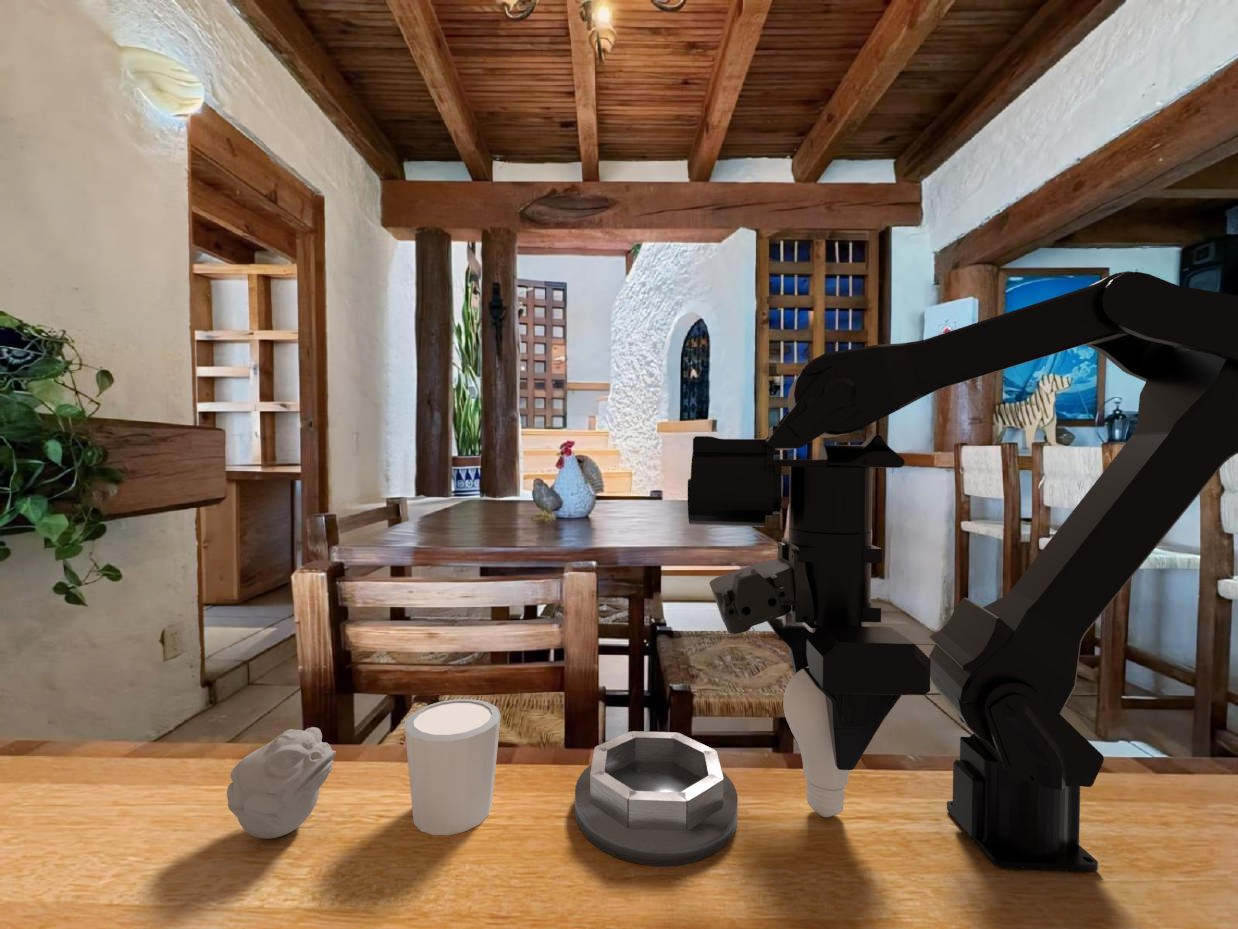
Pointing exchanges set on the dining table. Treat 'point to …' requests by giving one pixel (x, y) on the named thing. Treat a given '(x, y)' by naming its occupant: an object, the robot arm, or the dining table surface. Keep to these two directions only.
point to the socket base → (656, 799)
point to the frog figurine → (280, 783)
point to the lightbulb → (815, 745)
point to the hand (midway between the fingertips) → (826, 740)
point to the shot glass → (452, 764)
